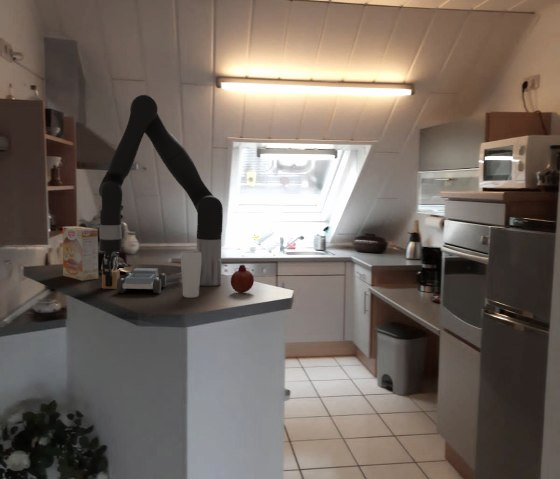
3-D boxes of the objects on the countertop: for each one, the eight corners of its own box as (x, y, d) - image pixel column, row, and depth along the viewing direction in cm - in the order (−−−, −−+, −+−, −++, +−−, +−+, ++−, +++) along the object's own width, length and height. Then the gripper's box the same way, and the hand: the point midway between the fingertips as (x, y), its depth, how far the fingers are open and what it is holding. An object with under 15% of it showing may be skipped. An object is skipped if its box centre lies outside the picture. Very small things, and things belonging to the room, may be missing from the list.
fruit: (248, 296, 181) (248, 267, 180) (226, 294, 184) (227, 265, 183) (257, 292, 189) (257, 264, 188) (236, 290, 192) (236, 262, 191)
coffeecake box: (62, 275, 211) (61, 226, 209) (79, 273, 217) (78, 226, 215) (81, 280, 202) (81, 229, 200) (99, 278, 207) (98, 228, 205)
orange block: (119, 286, 194) (119, 269, 193) (116, 288, 189) (116, 272, 188) (105, 285, 193) (105, 269, 193) (101, 288, 188) (101, 271, 188)
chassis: (166, 285, 196) (166, 268, 195) (158, 294, 180) (158, 275, 179) (127, 285, 195) (127, 267, 195) (116, 294, 179) (116, 275, 179)
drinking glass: (191, 299, 174) (192, 254, 173) (176, 296, 178) (176, 252, 176) (205, 296, 180) (205, 252, 178) (190, 293, 183) (190, 250, 182)
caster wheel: (134, 278, 223) (113, 278, 215) (120, 269, 230) (99, 268, 222) (138, 263, 222) (117, 262, 214) (124, 255, 229) (103, 253, 222)
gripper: (116, 239, 182) (116, 288, 184) (126, 235, 197) (126, 281, 198) (93, 239, 182) (94, 288, 184) (105, 235, 196) (105, 281, 198)
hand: (110, 284), depth 191 cm, fingers closed on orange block, 5 cm apart
